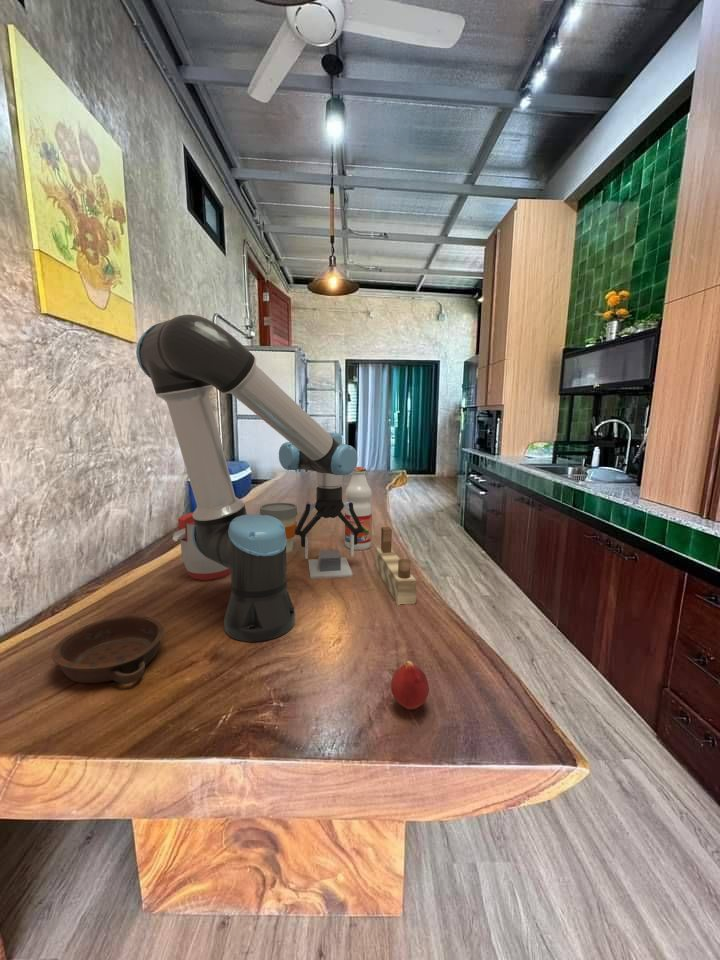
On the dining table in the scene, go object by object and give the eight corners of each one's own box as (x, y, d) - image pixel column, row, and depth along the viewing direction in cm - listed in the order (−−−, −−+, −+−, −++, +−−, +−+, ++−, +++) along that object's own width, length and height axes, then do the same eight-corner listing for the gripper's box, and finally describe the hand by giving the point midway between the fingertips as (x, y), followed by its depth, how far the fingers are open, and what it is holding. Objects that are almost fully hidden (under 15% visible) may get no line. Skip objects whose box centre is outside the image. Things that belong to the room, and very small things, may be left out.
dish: (71, 718, 61) (67, 688, 60) (43, 657, 76) (40, 633, 75) (186, 667, 73) (184, 642, 72) (142, 623, 88) (141, 602, 87)
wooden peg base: (415, 603, 99) (417, 553, 97) (397, 605, 98) (399, 553, 96) (389, 565, 124) (390, 524, 122) (375, 566, 123) (376, 524, 121)
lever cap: (340, 570, 118) (340, 557, 117) (320, 571, 117) (320, 558, 116) (337, 561, 124) (337, 549, 124) (318, 562, 123) (318, 550, 123)
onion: (424, 695, 66) (425, 650, 65) (431, 721, 61) (433, 673, 59) (388, 695, 66) (390, 650, 65) (392, 721, 60) (394, 673, 59)
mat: (352, 576, 115) (352, 574, 115) (310, 579, 113) (310, 576, 113) (346, 559, 128) (346, 557, 128) (308, 561, 126) (308, 559, 126)
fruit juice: (375, 544, 144) (377, 467, 139) (363, 552, 135) (364, 470, 131) (352, 540, 148) (353, 465, 143) (339, 547, 140) (340, 468, 135)
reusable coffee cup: (253, 553, 133) (252, 509, 131) (272, 542, 145) (271, 501, 143) (287, 557, 130) (286, 512, 127) (304, 545, 141) (303, 504, 139)
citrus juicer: (167, 573, 116) (162, 505, 113) (225, 559, 127) (223, 497, 124) (186, 591, 104) (181, 516, 101) (248, 574, 116) (246, 506, 112)
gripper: (368, 483, 122) (367, 549, 126) (285, 484, 118) (287, 553, 121) (374, 487, 115) (372, 558, 118) (285, 489, 111) (287, 562, 114)
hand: (329, 556), depth 120 cm, fingers open, 13 cm apart
